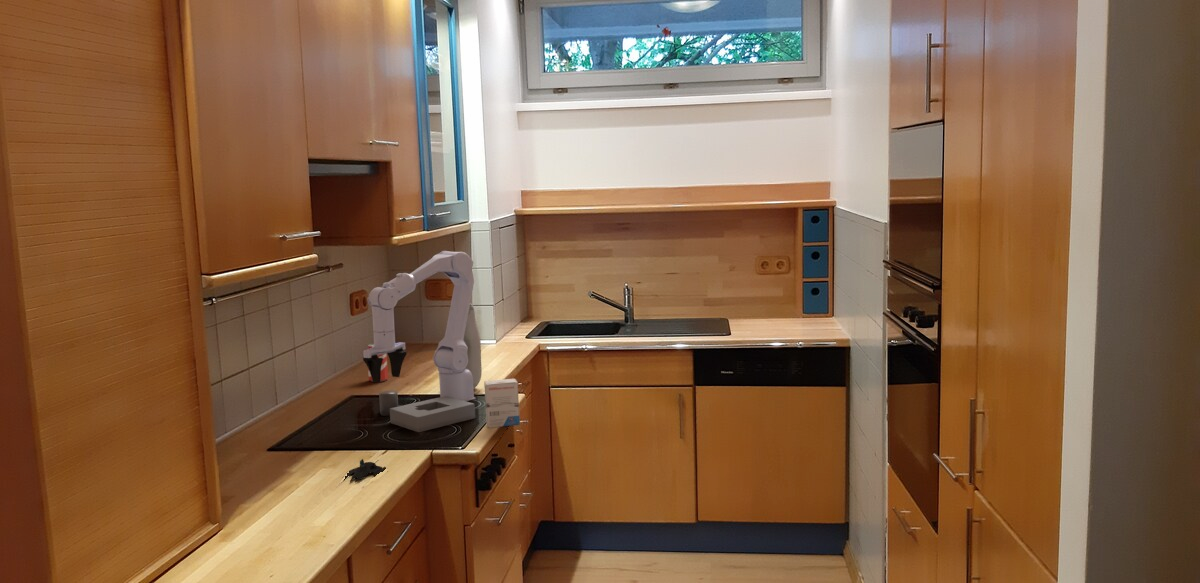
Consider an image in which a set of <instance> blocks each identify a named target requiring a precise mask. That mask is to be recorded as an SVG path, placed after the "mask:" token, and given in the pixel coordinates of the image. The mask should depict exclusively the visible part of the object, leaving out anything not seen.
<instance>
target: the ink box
mask: <svg viewBox="0 0 1200 583" xmlns="http://www.w3.org/2000/svg"><path fill="white" fill-rule="evenodd" d="M483 383H484V401H485V402H484V406H485V422H486V428H488V429H489V428H500V427H501V428H502V427H510V426H520V424H521V421H520V420H521V419H520V403H519V402H520V399H519V382H518V380H517V379H516V378H506V379H495V380H494V379H492V380H484V382H483Z"/></svg>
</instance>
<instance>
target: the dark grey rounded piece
mask: <svg viewBox="0 0 1200 583" xmlns="http://www.w3.org/2000/svg"><path fill="white" fill-rule="evenodd" d="M378 395H379V397H378V398H379V411H380V413H379V414H380V416H382V417H383V416H384V417H390V408H394V407H399V398H398V397H399V396H398V391H396V390H384V391H380V392H379V393H378Z"/></svg>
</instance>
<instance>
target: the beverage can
mask: <svg viewBox="0 0 1200 583" xmlns="http://www.w3.org/2000/svg"><path fill="white" fill-rule="evenodd" d="M367 346H368V347H367V348H366V350H367V349H370V348H372V346H374V343H369V344H368V345H367ZM387 356H388V354H387V353H386V354H381V355H377V357H379V358H383V361H382V365H381V380H380V382H379V383H381V382H385V381H386V380H387V379H389V370H388V357H387ZM367 372H368V373H367V374H368V380H369V381H370V382H373V380H372V377H371V374H370V371H369V369H368V368H367ZM373 383H374V382H373Z"/></svg>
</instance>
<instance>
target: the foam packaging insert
mask: <svg viewBox="0 0 1200 583" xmlns="http://www.w3.org/2000/svg"><path fill="white" fill-rule="evenodd" d="M389 419H390V420H389V421H390V424H392V425H396V426H399V427H401V428H405V429H407V430H411V431H414V432H416V433H421V432H425V431H429V430H433V429H437V428H441V427H446V426H449V425H453V424H457V423H461V422H465V421H469V420H473V419H476V405H475V402H474V403H473V402H469V401H463V400H459V399H455V398H452V397H448V396H443V397H440V396H439V397H435V398H430V399H426V400H422V401H417V402H413V403H409V404H405V405H398V407H394V408H390V416H389Z"/></svg>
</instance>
